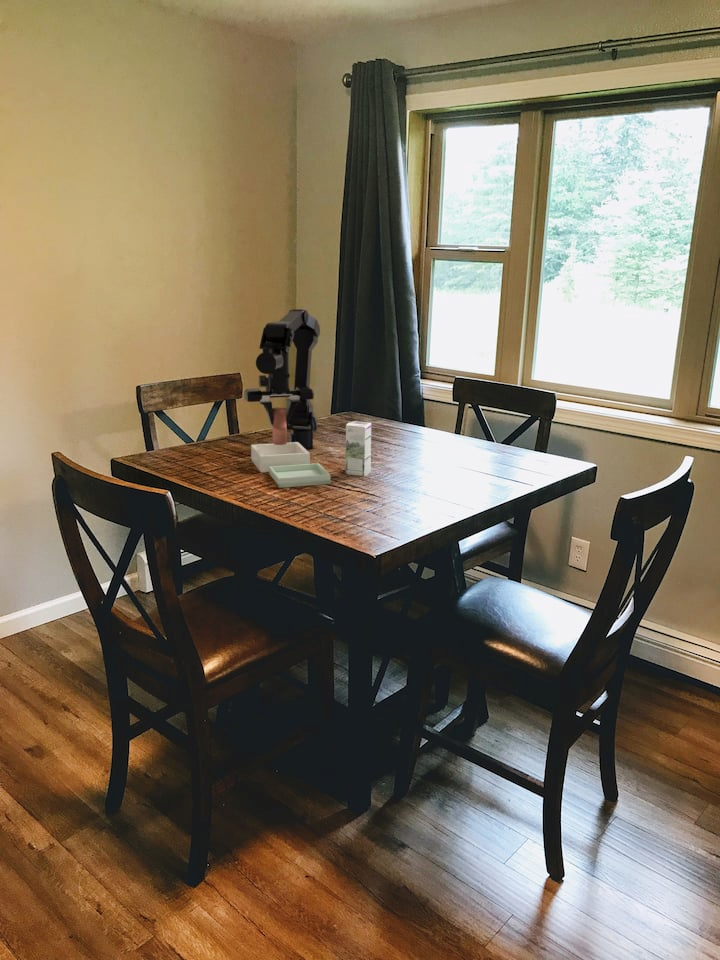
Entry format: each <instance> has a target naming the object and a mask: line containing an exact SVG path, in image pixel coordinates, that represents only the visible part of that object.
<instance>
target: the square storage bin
mask: <svg viewBox="0 0 720 960" xmlns="http://www.w3.org/2000/svg"><path fill="white" fill-rule="evenodd" d="M250 451H251V452H250V454H251V455H250V456H251V458H250V459H251V461H252V463H253V464H254V466H256V468H257V469H258V472H260V473H269V467H272V466H287V465H301V464H311V453H310V452H309V451H308V450H306V449H305V448H304V447H303V446H302V445H301V444H300V443H298V442H290V441H289V442H287V444H285V445H274V444H273V443H260V444H257V443H256V444H251V445H250Z"/></svg>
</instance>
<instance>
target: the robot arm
mask: <svg viewBox="0 0 720 960" xmlns="http://www.w3.org/2000/svg"><path fill="white" fill-rule="evenodd" d="M320 334H321V327H320V324H319V321H318V320H317V319H316V318H315V317H313V316H312V315H311V314H309V312H308V310H307V309H304V308H298V309H297V308H292V309H289V311H288V313H286V315H284V316H283V317H282V318H281V319H280V320H277V321H270V322H267V323H266V324H265V326H264V328H263V330H262V333H261V338H260V343H259V347H258V348H259V349H260V350H262V352H261V353H260V354H259V355H258V356H257V357H256V360H255V367H256V369H257V370H258V371H259V372H260V373H261V374H262V375H259V376H258V387H259V388H256V387H255V388H246V389H245V390H244V392H243V393H244V395H243V397H244V400H245V401H246V402H248V403H251V402H252V403H256V402H258V403H259V404H261V405H263V407H264V410H265V412H266V414H267V418H268V420H269V423H270V425H271V426H272V425H273V411H272V408H273V403H272V402H273V401H271V398H272V399H274V398H285V400H286V402H285V403H286V406H285V408H286V419H287V431H290V433H289V442H298V443H300V444H301V445H302V446H303V447H304V448H305V449H306V450H307V451H308V450H315V447H314V432H316V431H318V420H317V418H316V415H315V413H314V406H313V404H312V402H311V400H314V395H315V393H314V390H313V389H312V388H311V387H310V381H311V370H312V369H311V368H312V366H311V365H312V353H313V352H312V351H313V350H314V348H315V347H316V345H317V344H318V342H319V337H320V336H321V335H320ZM292 344H293V345H294V347H295V348H296V355H295V356H296V357H295V368H294V369H295V370H294V385H293V386H294V388H293V389H290V378H291V377H290V375H291V374H290V350H291V349H290V348H291V347H292ZM260 388H265V390H263V391H262V390H261V389H260Z"/></svg>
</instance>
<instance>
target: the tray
mask: <svg viewBox="0 0 720 960" xmlns="http://www.w3.org/2000/svg"><path fill="white" fill-rule="evenodd" d="M268 473H269V475H270V477H271V478H272V479H273V480H274V482H275V483H276V485H277V488H279V489H280V488H282V489H283V488H291V487H292V488H293V487H294V488H295V487H304V486H307V487H309V486H317V485H330V484H331V477H332V476H331V473H329V472H328V471H327V470H326V469H325V468H324V467H323V466H322V465H321V464H320V463H318V462H317V463H310V464H301V465H287V466H272V467H269V472H268Z"/></svg>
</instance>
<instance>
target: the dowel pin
mask: <svg viewBox="0 0 720 960" xmlns="http://www.w3.org/2000/svg"><path fill="white" fill-rule="evenodd" d="M272 411H273V425H271V427H272V432H271V433H272V444H274V445H285V444H287V443H288V440H287V439H288V437H287V436H288V433H287V431H288V430H287V419H286V407H272Z"/></svg>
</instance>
